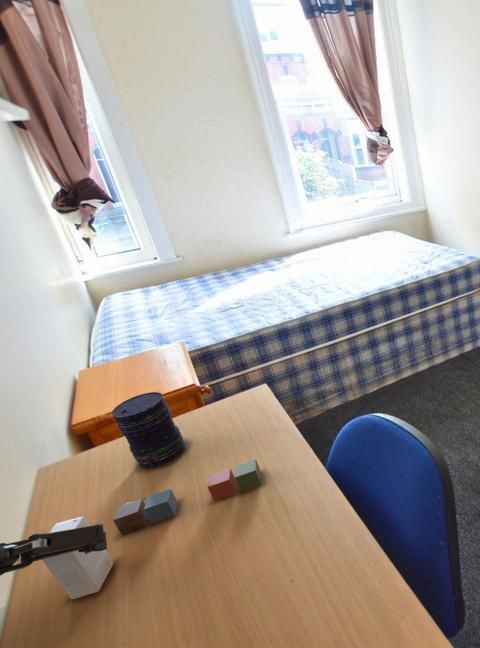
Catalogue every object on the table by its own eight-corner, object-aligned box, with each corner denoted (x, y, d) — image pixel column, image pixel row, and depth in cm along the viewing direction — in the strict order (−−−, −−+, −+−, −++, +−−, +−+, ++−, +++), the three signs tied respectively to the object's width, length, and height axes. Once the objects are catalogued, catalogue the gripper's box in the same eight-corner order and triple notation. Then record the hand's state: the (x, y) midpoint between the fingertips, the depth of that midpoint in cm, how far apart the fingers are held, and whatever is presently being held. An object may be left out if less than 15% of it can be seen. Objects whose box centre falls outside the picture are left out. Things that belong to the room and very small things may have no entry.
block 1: (121, 535, 91) (112, 520, 90) (126, 521, 95) (118, 506, 93) (145, 526, 93) (137, 511, 91) (150, 512, 96) (142, 498, 94)
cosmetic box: (87, 570, 84) (55, 522, 79) (115, 563, 85) (85, 514, 81) (69, 601, 79) (34, 551, 74) (98, 592, 80) (65, 542, 75)
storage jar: (172, 438, 119) (148, 388, 114) (195, 446, 115) (172, 395, 109) (129, 463, 111) (102, 412, 105) (152, 474, 107) (125, 421, 101)
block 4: (240, 492, 99) (234, 477, 97) (241, 480, 102) (235, 466, 101) (261, 484, 101) (255, 470, 99) (261, 473, 104) (255, 459, 102)
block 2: (151, 524, 93) (143, 509, 91) (155, 510, 96) (147, 496, 95) (175, 515, 95) (167, 501, 93) (178, 502, 98) (170, 488, 96)
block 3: (214, 501, 97) (207, 487, 96) (215, 489, 101) (209, 475, 99) (235, 494, 99) (229, 479, 97) (236, 482, 102) (230, 467, 100)
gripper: (-225, 662, 49) (-57, 626, 67) (72, 554, 58) (147, 549, 76) (-216, 586, 51) (-57, 572, 70) (68, 494, 60) (142, 503, 79)
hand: (50, 560), depth 73 cm, fingers open, 13 cm apart
